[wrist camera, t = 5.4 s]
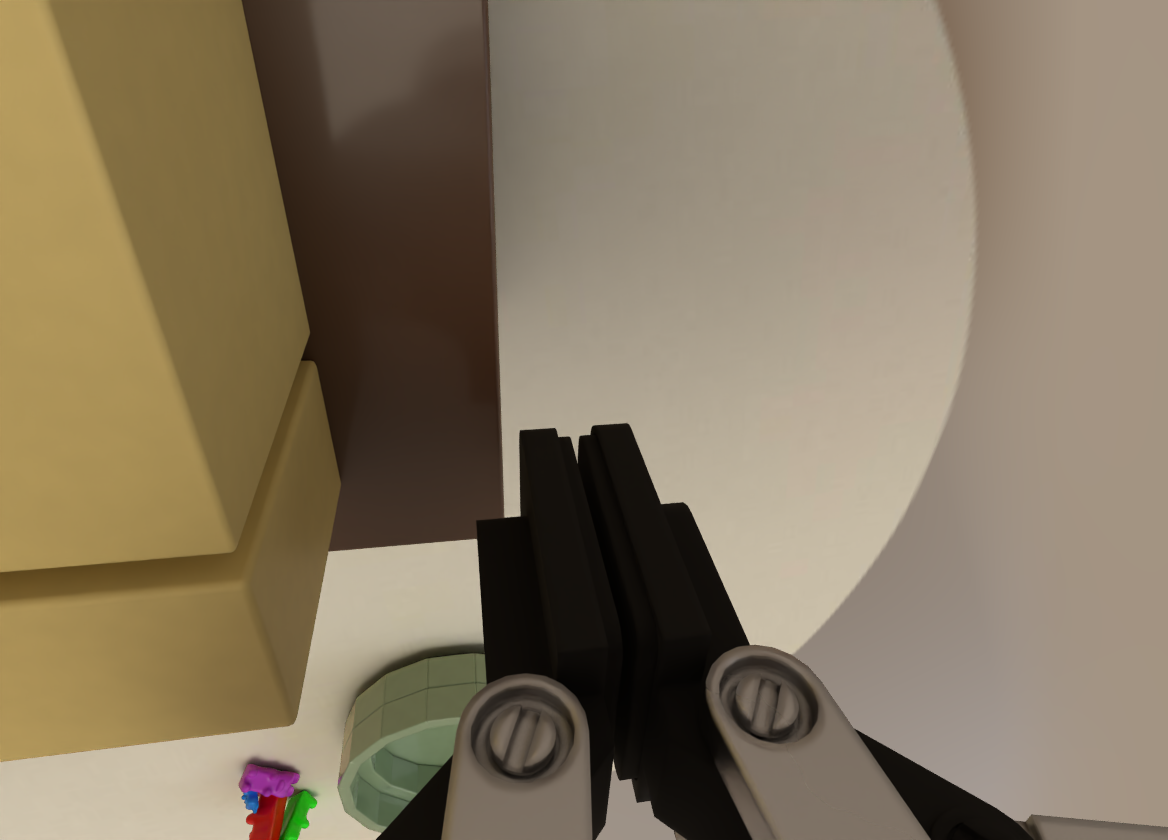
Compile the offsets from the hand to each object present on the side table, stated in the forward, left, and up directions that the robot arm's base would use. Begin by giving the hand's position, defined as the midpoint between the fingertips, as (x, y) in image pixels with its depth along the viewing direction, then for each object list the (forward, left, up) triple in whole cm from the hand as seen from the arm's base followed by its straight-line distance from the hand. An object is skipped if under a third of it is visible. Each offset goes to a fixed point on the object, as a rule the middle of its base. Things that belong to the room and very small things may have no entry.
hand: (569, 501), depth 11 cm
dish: (+3, +23, -12) cm, 26 cm away
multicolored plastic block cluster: (+12, +27, -12) cm, 32 cm away
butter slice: (+6, -1, -2) cm, 6 cm away
